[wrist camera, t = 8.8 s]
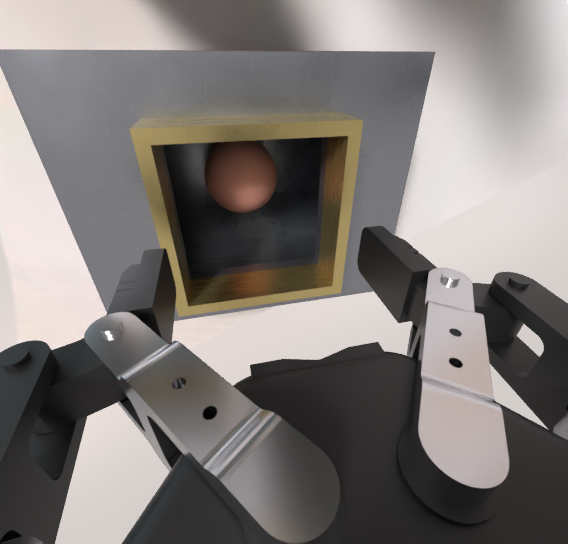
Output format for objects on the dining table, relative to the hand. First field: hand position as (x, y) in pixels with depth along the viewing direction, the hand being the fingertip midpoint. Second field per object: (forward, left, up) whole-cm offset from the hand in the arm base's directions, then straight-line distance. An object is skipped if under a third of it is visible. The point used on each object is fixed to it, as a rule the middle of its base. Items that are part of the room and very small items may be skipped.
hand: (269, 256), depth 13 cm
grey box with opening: (0, 0, -14) cm, 14 cm away
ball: (0, 0, -11) cm, 11 cm away
